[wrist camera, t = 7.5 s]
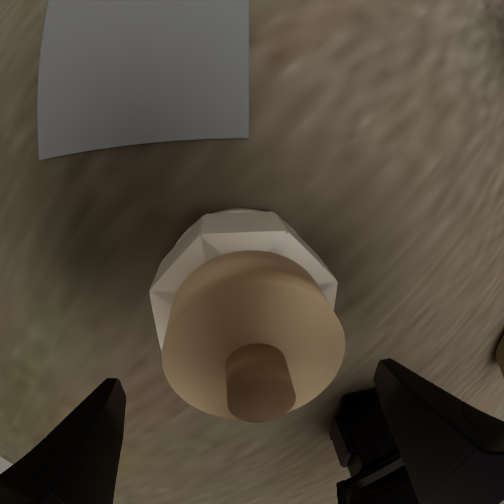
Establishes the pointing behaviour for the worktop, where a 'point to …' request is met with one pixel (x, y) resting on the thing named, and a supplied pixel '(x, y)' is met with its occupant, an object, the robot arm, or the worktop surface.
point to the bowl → (227, 241)
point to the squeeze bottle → (500, 355)
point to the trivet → (141, 73)
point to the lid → (251, 337)
